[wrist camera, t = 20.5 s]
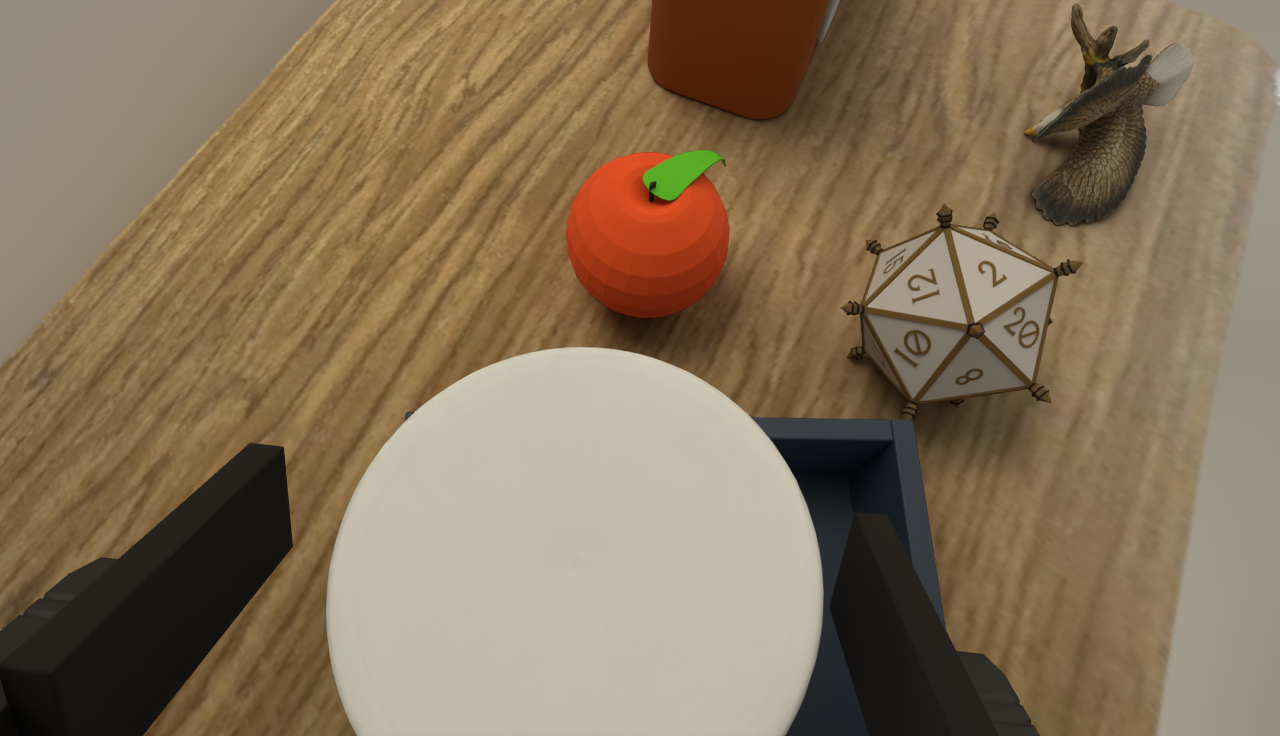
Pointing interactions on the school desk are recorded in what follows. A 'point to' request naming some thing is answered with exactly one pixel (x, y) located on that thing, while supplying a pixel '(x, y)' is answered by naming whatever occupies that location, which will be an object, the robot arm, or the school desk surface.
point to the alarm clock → (737, 50)
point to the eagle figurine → (1105, 124)
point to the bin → (833, 490)
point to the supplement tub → (575, 561)
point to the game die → (957, 314)
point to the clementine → (649, 232)
